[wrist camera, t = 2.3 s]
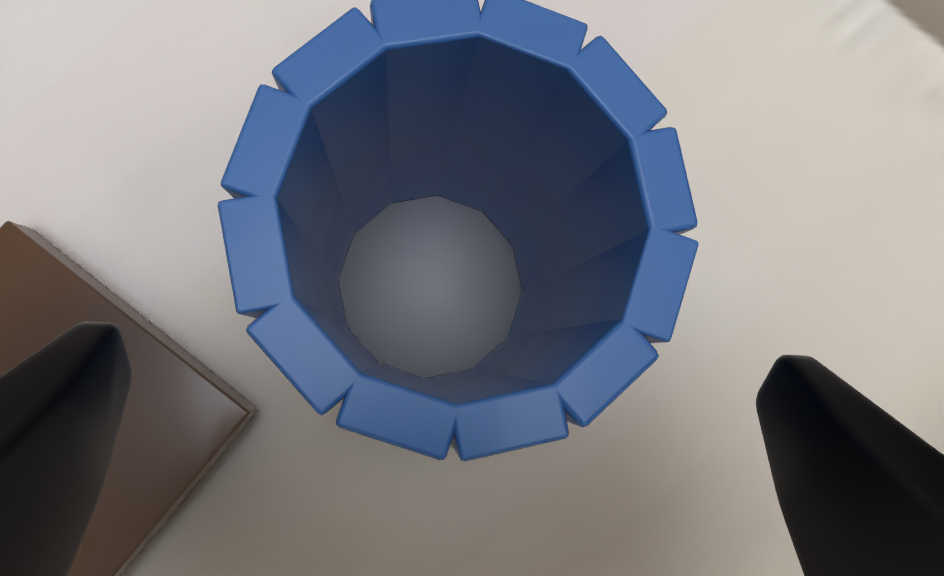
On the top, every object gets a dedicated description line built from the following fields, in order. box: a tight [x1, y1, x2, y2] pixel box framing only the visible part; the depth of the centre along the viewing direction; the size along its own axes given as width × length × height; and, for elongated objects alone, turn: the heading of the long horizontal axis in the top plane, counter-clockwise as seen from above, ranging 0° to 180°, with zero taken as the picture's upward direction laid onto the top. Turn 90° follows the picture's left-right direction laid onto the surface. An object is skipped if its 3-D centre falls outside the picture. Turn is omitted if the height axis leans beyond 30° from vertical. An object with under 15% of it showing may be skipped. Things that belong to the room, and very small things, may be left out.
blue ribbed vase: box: [218, 0, 698, 461], centre depth 14 cm, size 7×7×10 cm
